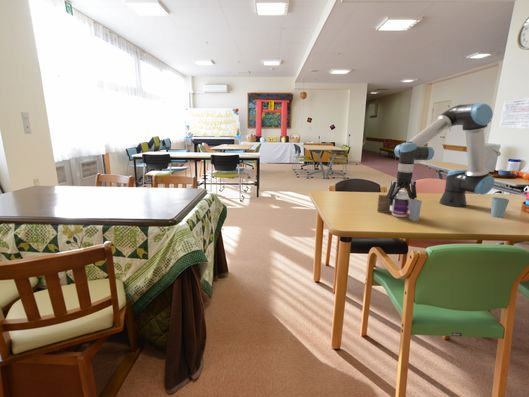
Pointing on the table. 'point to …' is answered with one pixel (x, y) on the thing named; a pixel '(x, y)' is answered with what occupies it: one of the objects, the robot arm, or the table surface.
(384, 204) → the door
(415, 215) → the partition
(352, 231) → the table surface
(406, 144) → the robot arm
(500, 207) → the cup
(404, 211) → the pill bottle
